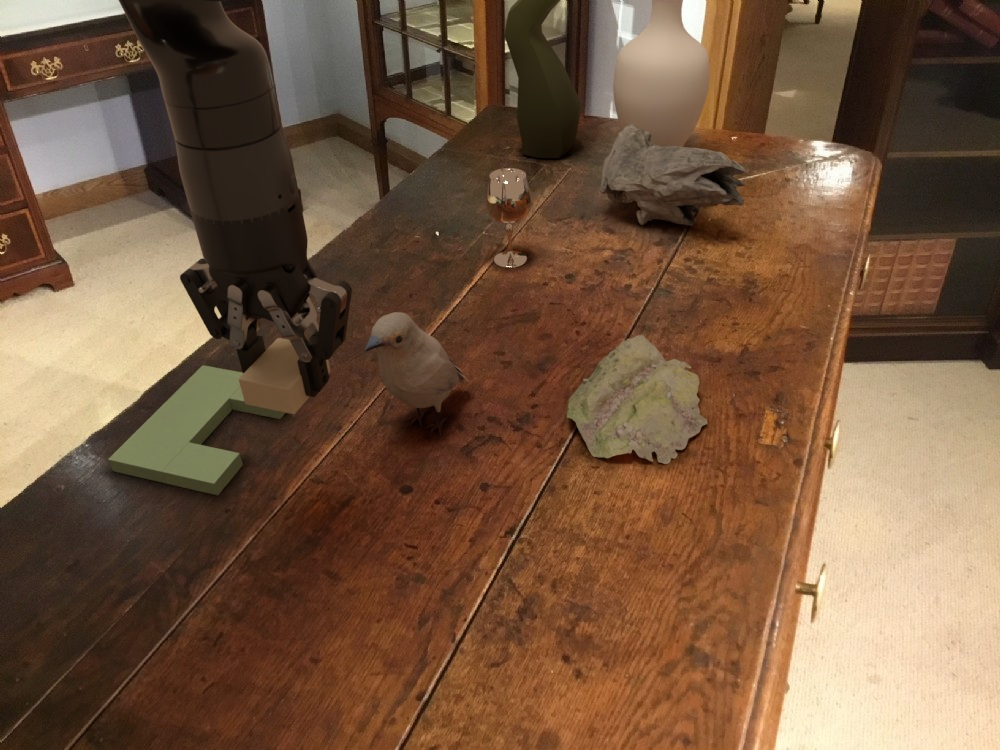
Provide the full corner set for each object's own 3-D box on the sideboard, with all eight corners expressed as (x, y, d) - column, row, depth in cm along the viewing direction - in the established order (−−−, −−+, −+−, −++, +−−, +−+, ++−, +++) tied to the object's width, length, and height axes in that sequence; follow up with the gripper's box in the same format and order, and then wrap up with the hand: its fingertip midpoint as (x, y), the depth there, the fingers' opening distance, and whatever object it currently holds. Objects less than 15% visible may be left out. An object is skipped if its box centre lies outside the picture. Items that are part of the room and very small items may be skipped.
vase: (597, 152, 142) (604, -30, 125) (678, 141, 145) (695, -38, 128) (628, 187, 131) (640, -8, 114) (714, 175, 133) (739, -17, 117)
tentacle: (570, 164, 139) (573, -36, 121) (499, 156, 142) (492, -40, 124) (585, 144, 145) (590, -49, 127) (518, 136, 149) (513, -52, 131)
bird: (363, 453, 84) (341, 327, 75) (446, 383, 93) (435, 262, 84) (401, 472, 82) (383, 344, 73) (483, 398, 91) (475, 275, 82)
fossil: (724, 278, 119) (788, 187, 111) (618, 244, 112) (679, 143, 104) (674, 206, 134) (727, 120, 126) (578, 171, 127) (628, 78, 119)
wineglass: (517, 274, 111) (514, 188, 104) (480, 263, 114) (476, 179, 106) (539, 255, 115) (539, 171, 108) (504, 245, 118) (501, 163, 110)
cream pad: (294, 415, 67) (288, 389, 66) (244, 404, 68) (237, 378, 67) (331, 371, 72) (326, 346, 70) (283, 362, 73) (277, 337, 71)
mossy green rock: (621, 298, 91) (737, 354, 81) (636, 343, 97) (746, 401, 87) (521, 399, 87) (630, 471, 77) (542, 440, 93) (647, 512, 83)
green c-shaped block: (218, 495, 80) (214, 483, 79) (112, 471, 83) (107, 459, 82) (301, 394, 92) (298, 382, 91) (206, 376, 95) (202, 365, 94)
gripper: (124, 203, 59) (187, 396, 69) (306, 229, 55) (344, 430, 65) (189, 161, 64) (239, 345, 75) (359, 181, 60) (386, 373, 71)
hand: (288, 384), depth 70 cm, fingers closed on cream pad, 4 cm apart
